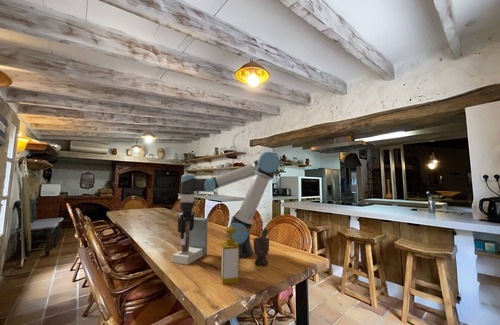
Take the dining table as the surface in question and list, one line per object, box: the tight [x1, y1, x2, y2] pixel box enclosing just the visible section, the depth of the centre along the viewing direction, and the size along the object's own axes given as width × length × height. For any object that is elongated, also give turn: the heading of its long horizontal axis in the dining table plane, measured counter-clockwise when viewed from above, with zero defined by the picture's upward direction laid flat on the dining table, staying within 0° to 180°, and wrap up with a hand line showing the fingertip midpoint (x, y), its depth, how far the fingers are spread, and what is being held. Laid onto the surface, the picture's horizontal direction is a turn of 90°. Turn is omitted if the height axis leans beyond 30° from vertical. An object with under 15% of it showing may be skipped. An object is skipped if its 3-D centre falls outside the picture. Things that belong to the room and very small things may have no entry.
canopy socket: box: [171, 216, 210, 266], centre depth 125 cm, size 14×18×22 cm
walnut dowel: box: [180, 221, 190, 252], centre depth 121 cm, size 4×4×16 cm
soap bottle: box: [220, 226, 249, 285], centre depth 98 cm, size 7×13×24 cm, turn 102°
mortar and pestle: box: [253, 228, 270, 267], centre depth 115 cm, size 12×9×20 cm
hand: (185, 243), depth 121 cm, fingers closed on walnut dowel, 4 cm apart
